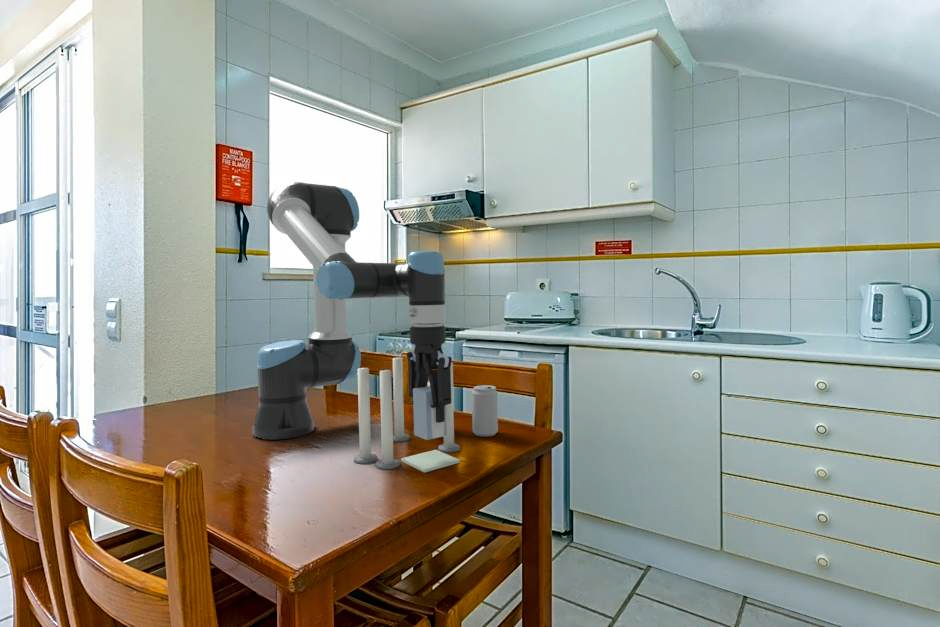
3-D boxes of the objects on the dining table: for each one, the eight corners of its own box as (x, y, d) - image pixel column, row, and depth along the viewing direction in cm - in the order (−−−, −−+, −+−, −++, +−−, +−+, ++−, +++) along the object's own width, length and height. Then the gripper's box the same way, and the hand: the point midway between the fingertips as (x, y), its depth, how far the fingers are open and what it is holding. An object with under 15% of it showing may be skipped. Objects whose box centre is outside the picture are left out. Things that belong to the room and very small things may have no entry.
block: (414, 435, 111) (412, 388, 111) (433, 430, 114) (432, 385, 114) (427, 440, 107) (425, 392, 107) (446, 435, 110) (445, 388, 110)
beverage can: (495, 438, 127) (495, 389, 127) (470, 437, 129) (469, 389, 128) (499, 430, 134) (499, 384, 133) (475, 429, 135) (474, 384, 134)
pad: (401, 461, 112) (401, 458, 112) (435, 452, 118) (435, 449, 117) (424, 472, 105) (424, 469, 105) (459, 462, 110) (459, 459, 110)
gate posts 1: (349, 462, 111) (346, 370, 110) (395, 435, 131) (393, 356, 130) (369, 464, 110) (367, 371, 109) (412, 436, 130) (411, 357, 128)
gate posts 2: (371, 464, 110) (368, 370, 109) (451, 444, 123) (449, 360, 122) (383, 471, 106) (380, 374, 105) (464, 449, 119) (462, 362, 118)
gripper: (390, 324, 114) (393, 428, 115) (437, 328, 100) (440, 447, 101) (419, 322, 119) (421, 422, 120) (468, 326, 105) (470, 439, 106)
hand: (430, 433), depth 111 cm, fingers closed on block, 5 cm apart
